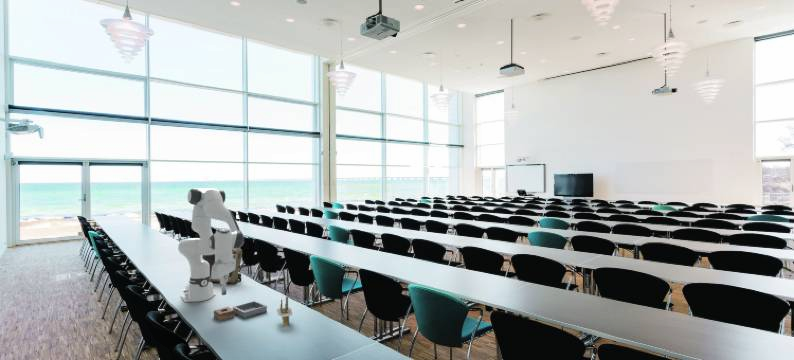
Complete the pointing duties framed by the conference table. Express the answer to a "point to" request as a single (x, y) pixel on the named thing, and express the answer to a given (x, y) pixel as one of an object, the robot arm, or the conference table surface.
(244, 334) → the conference table surface
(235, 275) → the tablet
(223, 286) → the pin
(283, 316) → the architectural model
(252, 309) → the gray tray
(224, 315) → the block
